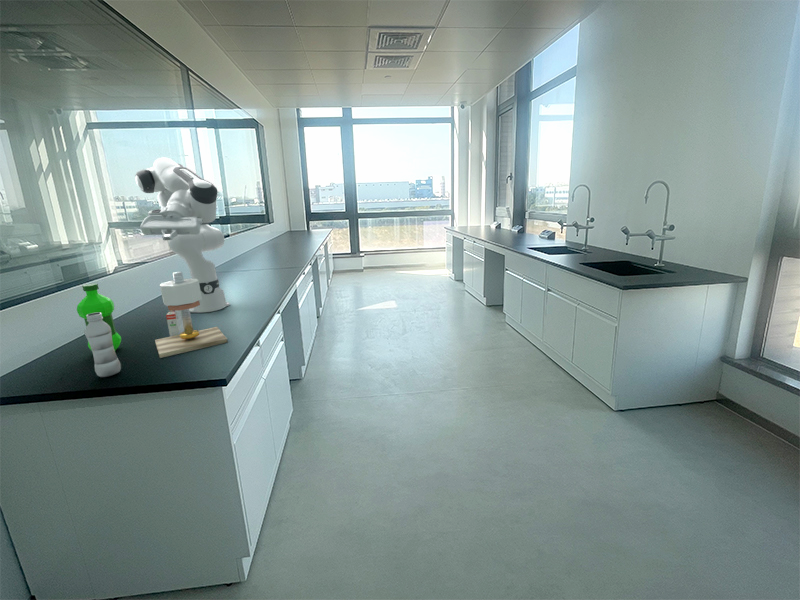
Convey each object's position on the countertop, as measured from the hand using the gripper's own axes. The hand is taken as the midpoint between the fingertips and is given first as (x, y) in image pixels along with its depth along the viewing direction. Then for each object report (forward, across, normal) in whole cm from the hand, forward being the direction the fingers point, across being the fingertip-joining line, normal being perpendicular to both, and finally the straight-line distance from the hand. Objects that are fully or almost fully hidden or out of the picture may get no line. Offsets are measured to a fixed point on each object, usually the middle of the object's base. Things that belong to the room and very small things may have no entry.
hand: (167, 239), depth 146 cm
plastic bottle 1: (+29, +22, -29) cm, 46 cm away
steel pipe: (+27, -7, -26) cm, 38 cm away
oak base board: (+28, -7, -27) cm, 40 cm away
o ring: (+21, -6, -15) cm, 26 cm away
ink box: (+18, +2, -34) cm, 39 cm away
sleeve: (+20, -6, -13) cm, 24 cm away
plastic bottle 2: (+48, +11, -16) cm, 52 cm away
